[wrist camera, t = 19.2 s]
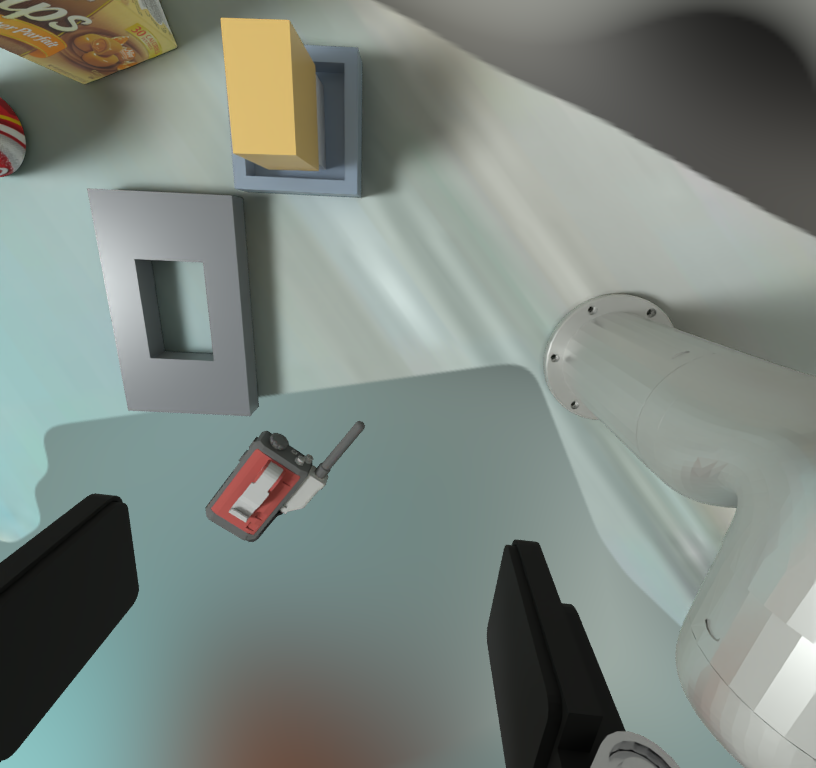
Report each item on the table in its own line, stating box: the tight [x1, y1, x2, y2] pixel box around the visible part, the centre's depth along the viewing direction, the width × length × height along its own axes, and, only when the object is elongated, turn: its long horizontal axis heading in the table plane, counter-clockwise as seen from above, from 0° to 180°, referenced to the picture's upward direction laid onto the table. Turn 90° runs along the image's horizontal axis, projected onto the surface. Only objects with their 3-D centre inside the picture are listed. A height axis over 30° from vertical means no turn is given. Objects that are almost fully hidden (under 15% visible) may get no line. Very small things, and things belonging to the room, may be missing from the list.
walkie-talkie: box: [206, 421, 365, 542], centre depth 45 cm, size 9×4×20 cm
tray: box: [225, 45, 362, 198], centre depth 35 cm, size 10×10×3 cm
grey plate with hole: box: [87, 189, 259, 416], centre depth 40 cm, size 12×20×2 cm, turn 177°
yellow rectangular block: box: [220, 18, 326, 171], centre depth 31 cm, size 4×7×10 cm, turn 178°
